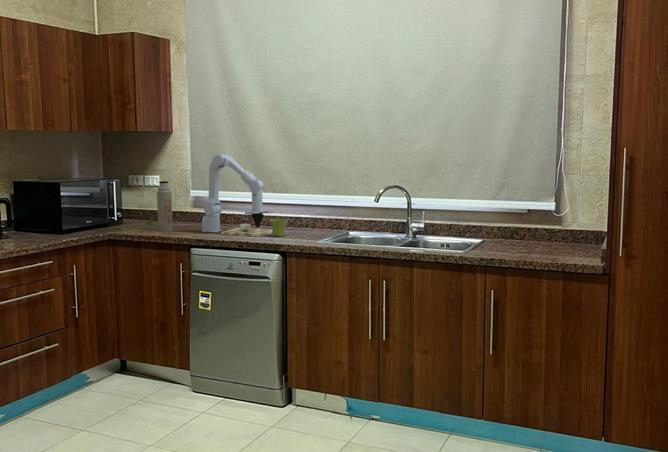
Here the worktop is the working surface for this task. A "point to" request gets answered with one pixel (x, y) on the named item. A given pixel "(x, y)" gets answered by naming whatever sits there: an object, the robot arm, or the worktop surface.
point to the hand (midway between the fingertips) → (257, 227)
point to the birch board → (246, 232)
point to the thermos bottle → (164, 207)
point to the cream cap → (245, 227)
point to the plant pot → (278, 226)
